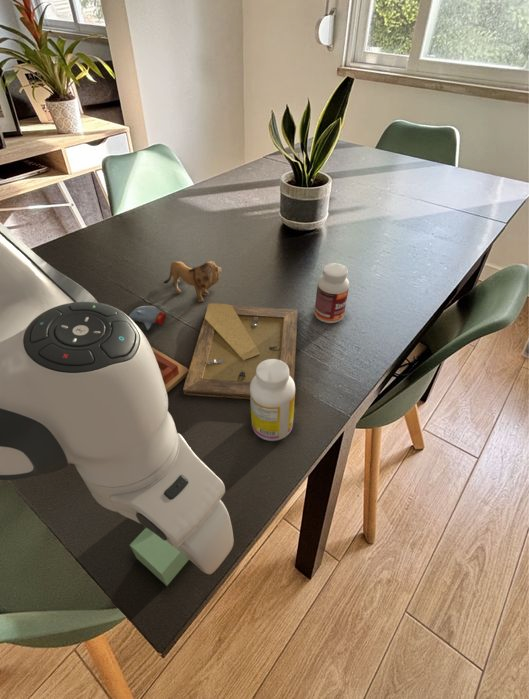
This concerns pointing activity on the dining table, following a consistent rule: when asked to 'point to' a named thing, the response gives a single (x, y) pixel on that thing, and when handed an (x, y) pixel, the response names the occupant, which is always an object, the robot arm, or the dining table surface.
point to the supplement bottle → (272, 400)
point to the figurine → (148, 315)
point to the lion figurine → (195, 276)
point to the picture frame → (239, 348)
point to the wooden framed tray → (170, 370)
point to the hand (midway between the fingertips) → (160, 524)
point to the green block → (158, 555)
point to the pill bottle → (332, 293)
